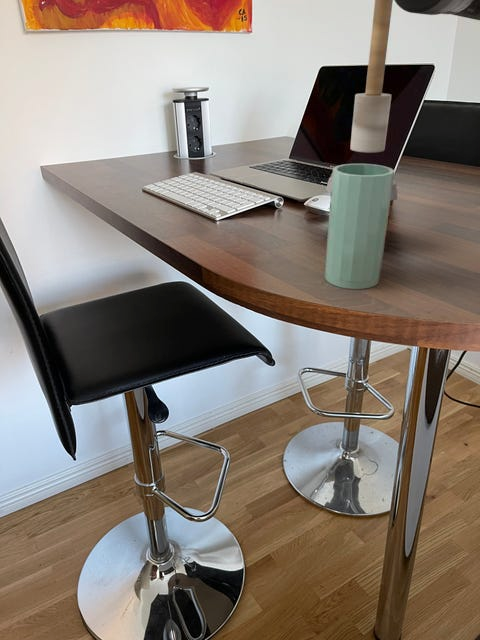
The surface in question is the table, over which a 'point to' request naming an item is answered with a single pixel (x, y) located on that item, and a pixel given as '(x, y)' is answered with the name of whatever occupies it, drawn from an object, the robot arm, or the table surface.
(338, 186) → the mint green pencil cup
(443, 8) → the robot arm
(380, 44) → the brush
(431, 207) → the table surface
